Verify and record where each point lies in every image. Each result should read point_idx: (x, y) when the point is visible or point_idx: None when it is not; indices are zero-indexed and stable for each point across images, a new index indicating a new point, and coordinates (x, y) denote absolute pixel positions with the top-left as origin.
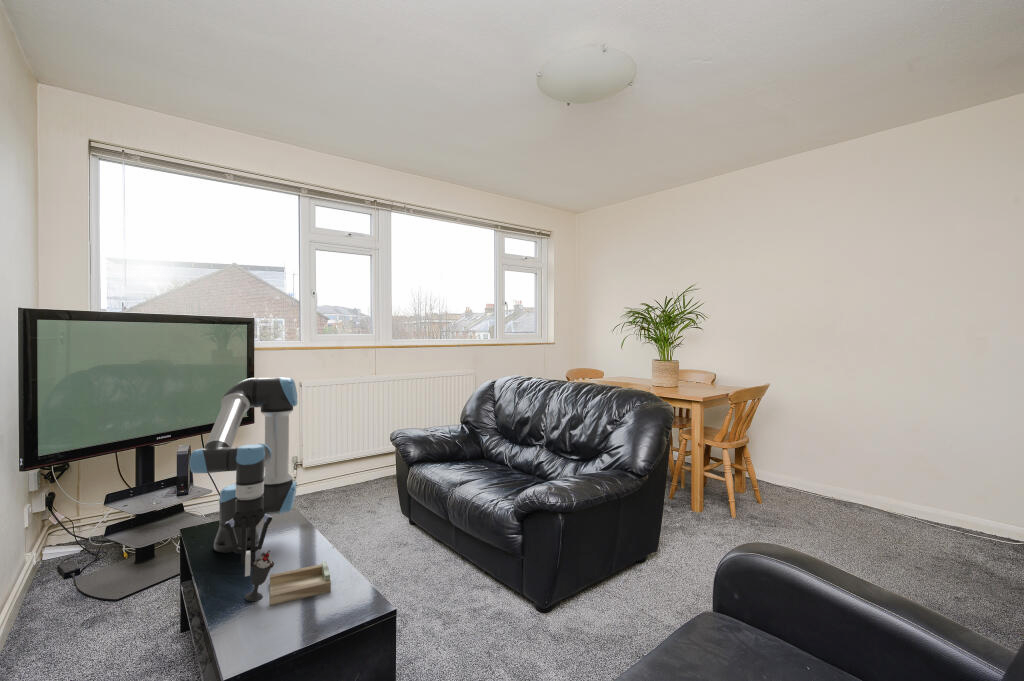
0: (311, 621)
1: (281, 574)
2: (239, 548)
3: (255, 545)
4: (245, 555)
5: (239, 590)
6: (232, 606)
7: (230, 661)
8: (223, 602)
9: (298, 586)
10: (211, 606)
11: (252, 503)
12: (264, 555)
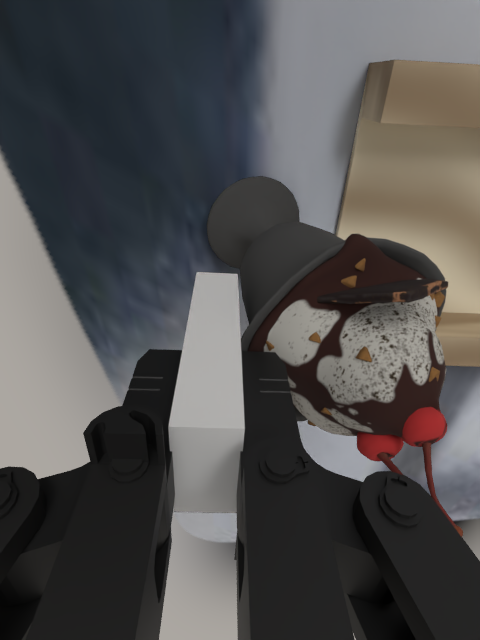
0: (411, 466)
1: (468, 113)
2: (49, 570)
3: (321, 536)
4: (176, 500)
5: (166, 45)
6: (153, 250)
7: (191, 514)
8: (95, 178)
9: (474, 339)
10: (38, 192)
11: None
12: (387, 434)
